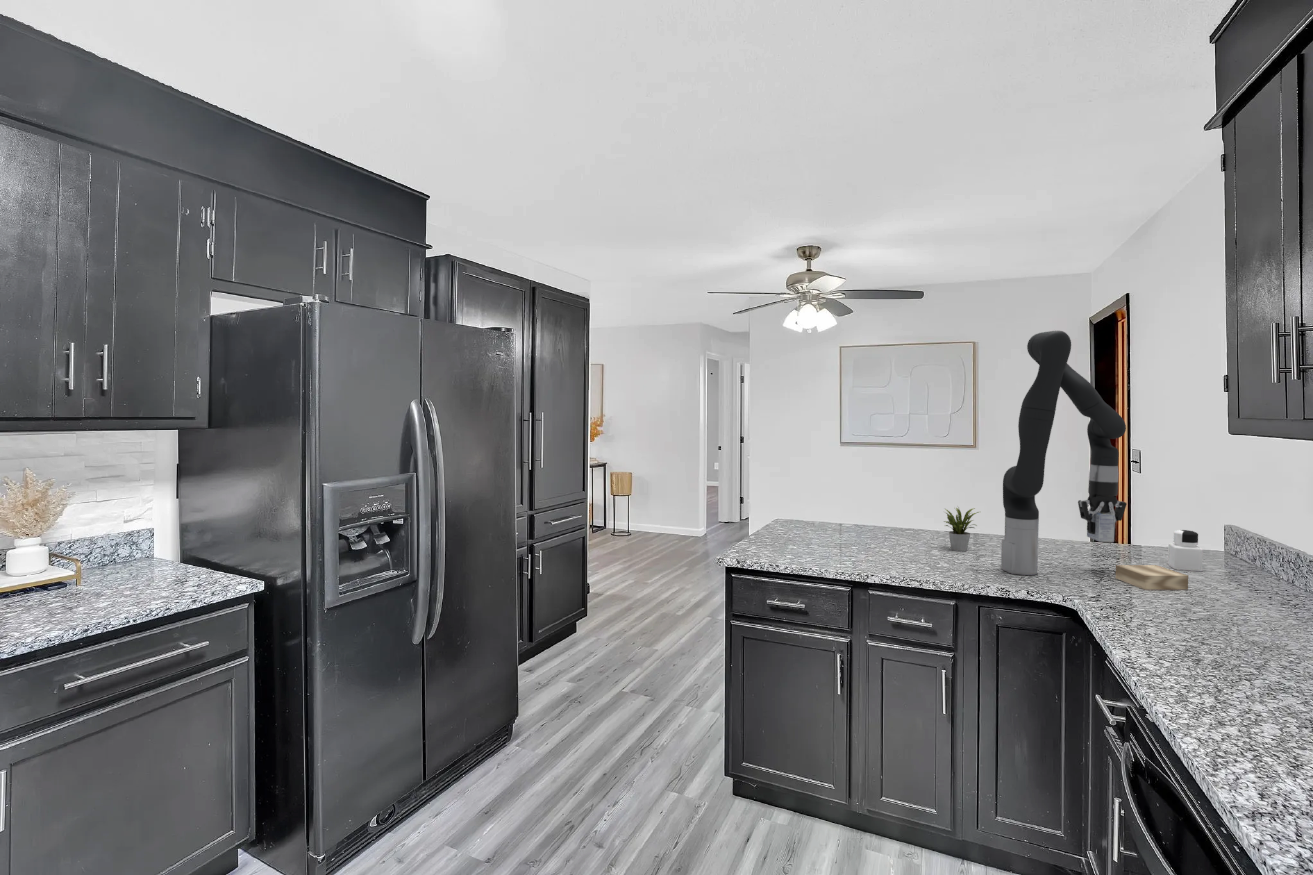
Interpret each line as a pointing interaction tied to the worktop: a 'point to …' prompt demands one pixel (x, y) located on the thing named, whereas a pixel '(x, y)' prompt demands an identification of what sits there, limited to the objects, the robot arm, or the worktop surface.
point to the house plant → (959, 530)
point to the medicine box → (1104, 527)
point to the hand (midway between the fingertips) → (1100, 533)
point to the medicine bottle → (1185, 551)
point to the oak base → (1152, 577)
